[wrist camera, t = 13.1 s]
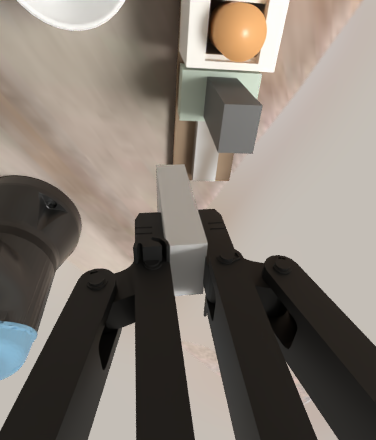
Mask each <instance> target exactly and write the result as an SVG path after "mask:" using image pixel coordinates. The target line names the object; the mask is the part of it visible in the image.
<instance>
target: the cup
mask: <svg viewBox="0 0 376 440" xmlns="http://www.w3.org/2000/svg"><path fill="white" fill-rule="evenodd" d="M17 1H18V3H19V4H20V5H21V6H22V7H24V8H25V9H26V10H27V11H28V12H29V13H31V14H32V15H33V16H35V17H36V18H38V19H39V20H41V21H43V22H44V23H46V24H49V25H51V26H54V27H56V28H59V29H64V30H69V31H85V30H89V29H92V28H96V27H98V26H100V25H102V24H104V23H106V22H107V21H108V20H110V19H111V18H112V17H113V16H114V15H115V14H116V13H117V12H118V11H119V9H120V8H121V6H122V5H123V4H124V2H125V0H17Z"/></svg>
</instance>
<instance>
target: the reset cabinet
mask: <svg viewBox="0 0 376 440" xmlns="http://www.w3.org/2000/svg"><path fill="white" fill-rule="evenodd" d="M210 1H211V0H181V18H180V38H179V52H180V54H181V57H182V59H183V61H184V63H185V66H186V67H189V68H207V69H224V70H242V71H259V72H274V70H275V65H276V61H277V56H278V51H279V47H280V42H281V37H282V33H283V28H284V23H285V18H286V14H287V9H288V4H289V0H227V1H239V2H249V4H252V5H254V6H256V7H257V8H258V9H259V10H260V11H261V12H262V13H263V15H264V17H265V20H266V24H267V35H266V39H265V42H264V44H263V47H262V48H261V50H260V51H259V52H258V53H257V54H256V55H255V56H254V57H253V58H251V59H249V60H247V61H244V62H234V61H231V60H229V59H227V58H226V57H225V56H224V55H223V54H222V53H221V52H220V51H219V50H218V49H217V48H216V47H215V46H214V45H213V44H212V43H211V42H207V33H208V23H209V12H210Z"/></svg>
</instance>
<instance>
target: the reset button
mask: <svg viewBox="0 0 376 440" xmlns="http://www.w3.org/2000/svg"><path fill="white" fill-rule="evenodd" d="M266 35H267V24H266V20H265V17H264V15H263V13H262V12H261V11H260V10H259V9H258V8H257V7H256V6H254V5H252V4H248V3H243V2H238V1H224V2H222V3H220V4H219V5H217V6H216V7H215V8H214V10H213V11H212V13H211V14H210V17H209V23H208V36H209V39H210V41H211V43H212V44H213V45H214V46H215V47H216V48H217V49H218V50H219V51H220V52H221V53H222V54H223V55H224V56H225V57H226V58H227V59H229V60H231V61H234V62H244V61H247V60H249V59H251V58H253V57H254V56H255V55H256V54H257V53H258V52H259V51H260V50H261V48H262V47H263V44H264V42H265V39H266Z"/></svg>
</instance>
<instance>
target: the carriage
mask: <svg viewBox="0 0 376 440" xmlns="http://www.w3.org/2000/svg"><path fill="white" fill-rule="evenodd" d="M261 77H262V74H261V73H260V72H259V71H242V70H224V69H207V68H189V67H186V66H185V64H183V63H180V75H179V95H178V115H179V120H180V121H205V122H206V124H207V127H208V129H209V132H210V134H211V137H212V139H213V142H214V144H215V147H216V149H217V152H218V153H248V154H251V153H253V150H254V145H255V140H256V135H257V130H258V125H259V120H260V116H261V111H262V105H261V104H260V102H259V101H258V100H257V98H258V92H259V87H260V82H261Z"/></svg>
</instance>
